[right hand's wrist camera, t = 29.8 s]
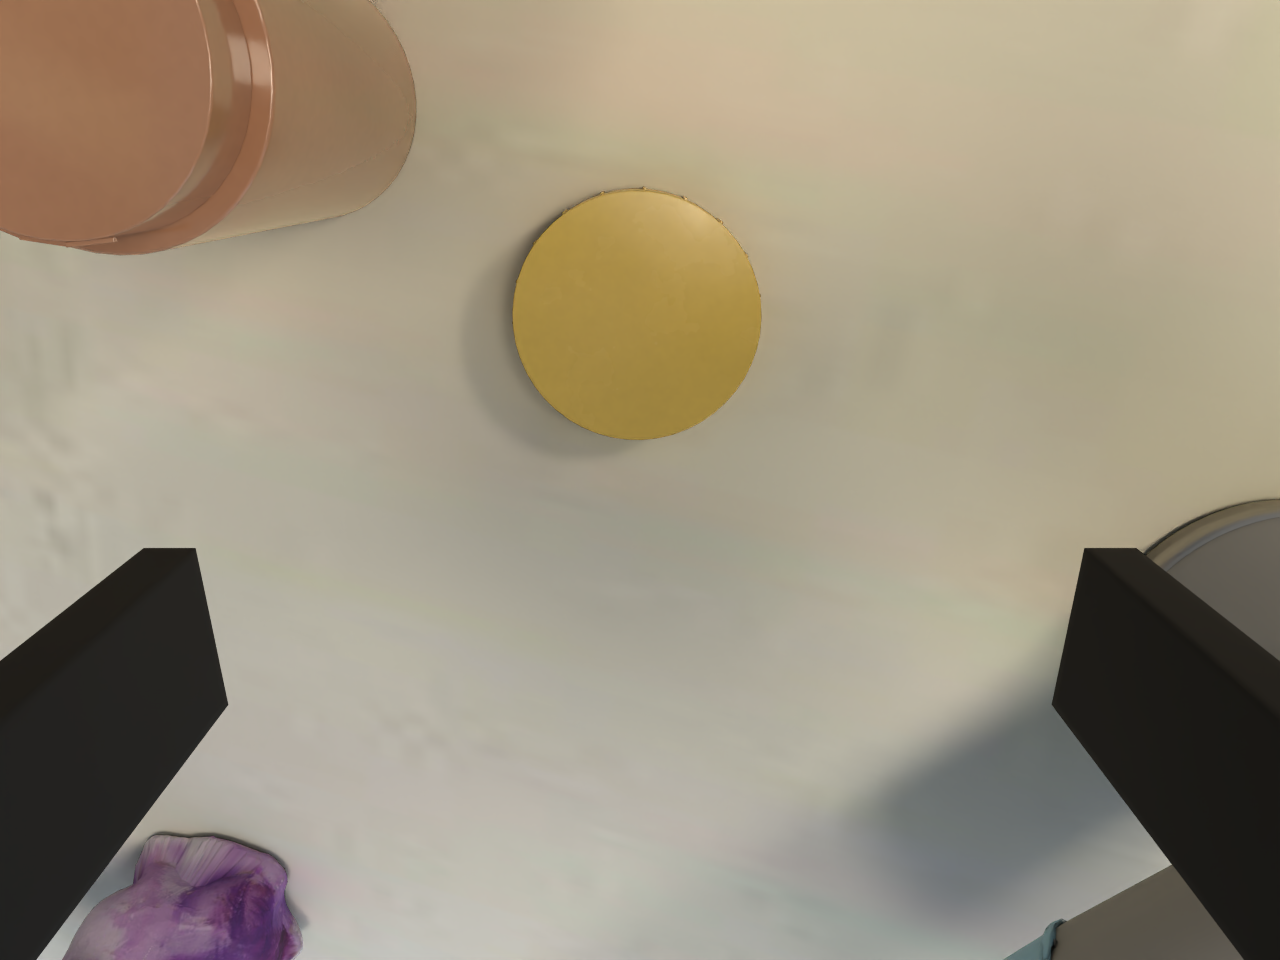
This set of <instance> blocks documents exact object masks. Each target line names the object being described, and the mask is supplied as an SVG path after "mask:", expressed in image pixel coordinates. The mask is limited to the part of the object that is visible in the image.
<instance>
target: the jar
mask: <svg viewBox="0 0 1280 960" xmlns="http://www.w3.org/2000/svg"><path fill="white" fill-rule="evenodd" d="M415 121H416V98H415V90H414V83H413V79H412V74H411V70H410V66H409V64H408V61H407V58H406V56H405V53H404V50H403V48H402V46H401V44H400V42H399V40H398V38H397V36H396V34H395V33H394V31H393V30H392V28H391V27H390V25H389V24H388V22H387V21H386V19H385V18H384V17H383V16H382V14H381V13H380V12H379V11H378V10H377V8H376V7H375V6H374V5H373V4H372V3H371V2H370V1H369V0H0V230H1V231H3V232H6V233H8V234H11V235H13V236H16V237H18V238H19V239H20V240H26V241H33V242H39V243H46V244H53V245H59V246H66V247H72V248H76V249H80V250H85V251H89V252H94V253H100V254H111V255H141V254H148V253H153V252H159V251H164V250H169V249H175V248H180V247H185V246H190V245H195V244H200V243H205V242H211V241H216V240H221V239H226V238H231V237H236V236H241V235H247V234H252V233H257V232H262V231H267V230H272V229H277V228H283V227H288V226H293V225H298V224H303V223H308V222H313V221H318V220H324V219H329V218H334V217H339V216H343V215H346V214H349V213H351V212H354V211H356V210H358V209H360V208H362V207H364V206H366V205H367V204H369V203H370V202H372V201H373V200H374V199H376V198H377V197H378V196H380V195H381V194H382V193H383V192H384V191H385V190H386V189H387V188H388V187H389V185H390V184H391V183H392V182H393V180H394V179H395V178H396V176H397V175H398V173H399V171H400V170H401V168H402V166H403V164H404V163H405V160H406V158H407V155H408V153H409V150H410V147H411V143H412V139H413V135H414V129H415Z"/></svg>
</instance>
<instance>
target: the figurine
mask: <svg viewBox="0 0 1280 960" xmlns="http://www.w3.org/2000/svg"><path fill="white" fill-rule="evenodd" d="M287 882H288V881H287V874H286V871H285V868H283V867H282V866H281V865H280V864H279V862H278V861H277V860H276V859H275V858H274V857H273V856H271V855H269V854H267V853H263V852H260V851H257V850H254V849H252V848H249V847H246V846H244V845H241V844H238V843H236V842H233V841H229V840H225V839H221V838H216V837H215V836H209V837H192V838H185V837H177V836H170V835H154V836H152V837H151V838H150V839H148V840H147V841H146V843H145V845H144V848H143V851H142V854H140V857H139V860H138V862H137V864H136V867H135V874H134V882H133V885H131V886H129V887H127V888H124V889H121V890H119V891H117V892H115V893H114V894H112V895H110V896H108V897H106V898H105V899H103V900H102V901H101V902H99V903H98V904H97V905H96V906H95V907H94V908H93V909H92V910H91V912H90V913H89V914H88V915H87V917H86V918H85V920H84V921H83V923H82V924H81V926H80V927H79V929H78V931H77V932H76V934H75V936H74V938H73V940H72V942H71V944H70V946H69V948H68V950H67V952H66V954H65V956H64V957H63V959H62V960H294V959H295V958H296V957H297V956H298V955H299V954H300V952H301V951H302V948H303V939H302V934H301V931H300V929H299V926H298V924H297V921H296V920H295V918H294V917H293V915H292V914H291V912H290V910H289V909H288V907H287V905H286V902H285V897H284V890H285V888H286V885H287Z"/></svg>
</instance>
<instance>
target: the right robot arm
mask: <svg viewBox="0 0 1280 960" xmlns="http://www.w3.org/2000/svg"><path fill="white" fill-rule="evenodd" d="M227 706H228V701H227V697H226V692H225V687H224V682H223V677H222V673H221V668H220V663H219V658H218V653H217V649H216V644H215V639H214V634H213V629H212V625H211V620H210V615H209V610H208V606H207V601H206V596H205V591H204V586H203V582H202V577H201V572H200V567H199V562H198V558H197V553H196V548H143V549H142V550H141V551H139V552H138V553H137V554H136V555H134V556H133V557H132V558H131V559H129V560H128V561H127V562H125V563H124V564H123V565H122V566H120V567H119V568H118V569H117V570H115V571H114V572H113V573H111V574H110V575H109V576H108V577H106V578H105V579H104V580H103V581H101V582H100V583H99V584H97V585H96V586H95V587H94V588H92V589H91V590H90V591H89V592H87V593H86V594H85V595H84V596H82V597H81V598H80V599H78V600H77V601H76V602H75V603H73V604H72V605H71V606H70V607H68V608H67V609H66V610H64V611H63V612H62V613H61V614H59V615H58V616H57V617H56V618H54V619H53V620H52V621H50V622H49V623H48V624H47V625H45V626H44V627H43V628H42V629H40V630H39V631H38V632H36V633H35V634H34V635H33V636H31V637H30V638H29V639H28V640H26V641H25V642H24V643H22V644H21V645H20V646H19V647H17V648H16V649H15V650H14V651H12V652H11V653H10V654H8V655H7V656H6V657H5V658H3V659H2V660H1V661H0V960H36V959H37V958H38V957H39V955H40V954H41V953H42V951H43V950H44V949H45V947H46V946H47V945H48V943H49V942H50V941H51V939H52V938H53V937H54V935H55V934H56V933H57V931H58V930H59V929H60V927H61V926H62V925H63V923H64V922H65V921H66V919H67V918H68V917H69V916H70V914H71V913H72V912H73V910H74V909H75V908H76V906H77V905H78V904H79V902H80V901H81V900H82V898H83V897H84V896H85V894H86V893H87V892H88V890H89V889H90V888H91V886H92V885H93V884H94V882H95V881H96V880H97V878H98V877H99V876H100V874H101V873H102V872H103V870H104V869H105V868H106V866H107V865H108V864H109V862H110V861H111V860H112V858H113V857H114V856H115V854H116V853H117V852H118V850H119V849H120V848H121V846H122V845H123V844H124V842H125V841H126V840H127V838H128V837H129V836H130V835H131V833H132V832H133V831H134V829H135V828H136V827H137V825H138V824H139V823H140V821H141V820H142V819H143V817H144V816H145V815H146V813H147V812H148V811H149V809H150V808H151V807H152V805H153V804H154V803H155V801H156V800H157V799H158V797H159V796H160V795H161V793H162V792H163V791H164V789H165V788H166V787H167V785H168V784H169V783H170V781H171V780H172V779H173V777H174V776H175V775H176V773H177V772H178V771H179V769H180V768H181V767H182V765H183V764H184V763H185V761H186V760H187V759H188V757H189V756H190V755H191V754H192V752H193V751H194V750H195V748H196V747H197V746H198V744H199V743H200V742H201V740H202V739H203V738H204V736H205V735H206V734H207V732H208V731H209V730H210V728H211V727H212V726H213V724H214V723H215V722H216V720H217V719H218V718H219V716H220V715H221V714H222V712H223V711H224V710H225V708H226V707H227ZM1052 706H1053V707H1054V708H1055V710H1056V711H1057V712H1058V714H1059V715H1060V716H1061V718H1062V719H1063V720H1064V722H1065V723H1066V724H1067V726H1068V727H1069V728H1070V730H1071V731H1072V732H1073V734H1074V735H1075V736H1076V738H1077V739H1078V740H1079V742H1080V743H1081V744H1082V746H1083V747H1084V748H1085V750H1086V751H1087V752H1088V754H1089V755H1090V756H1091V757H1092V759H1093V760H1094V761H1095V763H1096V764H1097V765H1098V767H1099V768H1100V769H1101V771H1102V772H1103V773H1104V775H1105V776H1106V777H1107V779H1108V780H1109V781H1110V783H1111V784H1112V785H1113V787H1114V788H1115V789H1116V791H1117V792H1118V793H1119V795H1120V796H1121V797H1122V799H1123V800H1124V801H1125V803H1126V804H1127V805H1128V807H1129V808H1130V809H1131V811H1132V812H1133V813H1134V815H1135V816H1136V817H1137V819H1138V820H1139V821H1140V823H1141V824H1142V825H1143V827H1144V828H1145V829H1146V831H1147V832H1148V833H1149V835H1150V836H1151V837H1152V838H1153V840H1154V841H1155V842H1156V844H1157V845H1158V846H1159V848H1160V849H1161V850H1162V852H1163V853H1164V854H1165V856H1166V857H1167V858H1168V860H1169V861H1170V862H1171V864H1172V865H1171V866H1169V867H1167V868H1165V869H1163V870H1161V871H1160V872H1158V873H1156V874H1154V875H1152V876H1150V877H1148V878H1147V879H1145V880H1143V881H1141V882H1139V883H1137V884H1135V885H1134V886H1132V887H1130V888H1128V889H1126V890H1124V891H1122V892H1121V893H1119V894H1117V895H1115V896H1113V897H1111V898H1109V899H1108V900H1106V901H1104V902H1102V903H1100V904H1098V905H1096V906H1095V907H1093V908H1091V909H1089V910H1087V911H1085V912H1083V913H1082V914H1080V915H1078V916H1076V917H1074V918H1072V919H1070V920H1069V921H1065V920H1063V919H1059V920H1057V921H1054V922H1052V923H1051V924H1050V925H1049V926H1048V927H1047V928H1046V930H1045V932H1044V934H1043V935H1042V936H1041V937H1039V938H1037V939H1036V940H1034V941H1033V942H1031V943H1029V944H1028V945H1026V946H1025V947H1023V948H1021V949H1020V950H1018V951H1017V952H1015V953H1013V954H1012V955H1010V956H1008V957H1007V958H1005V959H1004V960H1280V500H1267V501H1259V502H1252V503H1247V504H1243V505H1238V506H1235V507H1231V508H1228V509H1224V510H1222V511H1219V512H1216V513H1214V514H1211V515H1208V516H1206V517H1204V518H1202V519H1200V520H1198V521H1195V522H1193V523H1191V524H1190V525H1188V526H1186V527H1184V528H1183V529H1181V530H1179V531H1177V532H1176V533H1175V534H1173V535H1172V536H1170V537H1169V538H1167V539H1166V540H1164V541H1163V542H1162V543H1160V544H1159V545H1158V546H1157V547H1155V548H1154V549H1153V550H1152V551H1150V552H1149V553H1148V554H1147V555H1144V554H1143V553H1142V552H1141V551H1139V550H1138V549H1137V548H1084V553H1083V558H1082V562H1081V567H1080V572H1079V577H1078V582H1077V586H1076V591H1075V596H1074V601H1073V606H1072V610H1071V615H1070V620H1069V625H1068V629H1067V634H1066V639H1065V644H1064V649H1063V653H1062V658H1061V663H1060V668H1059V673H1058V677H1057V682H1056V687H1055V692H1054V697H1053V701H1052Z"/></svg>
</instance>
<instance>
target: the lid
mask: <svg viewBox="0 0 1280 960" xmlns="http://www.w3.org/2000/svg"><path fill="white" fill-rule="evenodd" d="M562 214H563V215H562V216H561V217H559V218H558V219H557V220H556V221H554V222H553V223H552V224H551V225H550V226H549V227H548V228H547V229H546V230H545V231H544V232H543V234H542V235H541V236H540V237H539V238H538V239H537V240H536V241H535V242H534V243H533V245H534V246H533V247H532V248H531V250H530V252H529V254H528V256H527V258H526V259H525V261H524V263H523V266H522V269H521V271H520V274H519V276H518V279H517V280H516V283H517V284H516V288H515V292H514V300H513V309H512V314H513V322H512V324H513V331H514V337H515V343H516V346H517V350H518V353H519V356H520V359H521V361H522V364H523V366H524V368H525V371H526V373H527V374H528V376H529V378H530V379H531V381H532V383H533V384H534V386H535V387H536V389H537V390H538V391H539V392H540V394H541V395H542V396H543V397H544V399H545V400H546V401H547V402H548V403H549V404H550V405H551V406H552V407H553V408H555V409H556V410H557V411H558V412H559V413H561V414H562V415H563V416H565V417H566V418H567V419H569V420H571V421H572V422H574V423H576V424H577V425H579V426H581V427H583V428H585V429H588V430H590V431H593V432H595V433H598V434H601V435H605V436H609V437H613V438H620V439H628V440H645V439H655V438H661V437H665V436H669V435H673V434H676V433H679V432H681V431H684V430H687V429H689V428H691V427H693V426H695V425H697V424H698V423H700V422H702V421H703V420H705V419H706V418H708V417H709V416H711V415H712V414H714V413H715V412H716V411H717V410H718V409H719V408H720V407H721V406H723V405H724V404H725V403H726V402H727V401H728V399H729V398H730V397H731V396H732V395H733V394H734V393H735V391H736V390H737V388H738V387H739V385H740V384H741V382H742V381H743V379H744V378H745V376H746V374H747V372H748V370H749V368H750V366H751V364H752V361H753V358H754V355H755V352H756V350H757V345H758V341H759V337H760V328H761V301H760V297H761V295H760V294H759V290H758V284H757V281H756V278H755V275H754V272H753V269H752V267H751V265H750V263H749V261H748V259H747V257H748V255H747V254H746V253H745V252H744V251H743V250H742V248H741V247H740V245H739V244H738V242H737V240H736V239H735V238H734V237H733V236H732V234H731V233H730V232H729V231H728V230H727V229H726V228H725V227H724V226H723V225H722V223H723V222H722V221H721V220H720V219H718V218H717V219H715V218H714V217H713V216H712V215H711V214H709V213H708V212H707V211H705V210H704V209H702V208H701V207H699V206H698V205H696V204H694V203H692V202H690V201H688V200H687V198H686V197H685V196H683V197H680V196H677V195H674V194H670V193H667V192H664V191H658V190H652V189H646V188H645V187H643V189H635V188H631V189H622V190H615V191H611V192H607V193H605V192H604V191H602V192H601V193H600V195H597V196H595V197H592V198H590V199H587V200H585V201H583V202H582V203H580V204H578V205H576V206H575V207H573V208H571V209H570V210H569V211H568V210H567V209H566V210H565V211H564V212H562Z"/></svg>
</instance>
